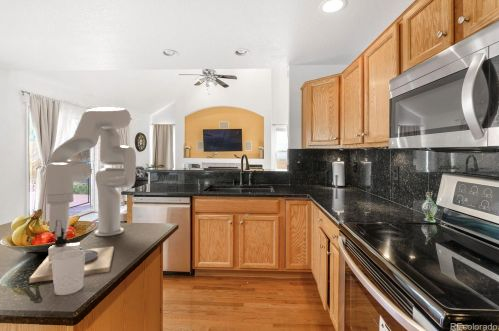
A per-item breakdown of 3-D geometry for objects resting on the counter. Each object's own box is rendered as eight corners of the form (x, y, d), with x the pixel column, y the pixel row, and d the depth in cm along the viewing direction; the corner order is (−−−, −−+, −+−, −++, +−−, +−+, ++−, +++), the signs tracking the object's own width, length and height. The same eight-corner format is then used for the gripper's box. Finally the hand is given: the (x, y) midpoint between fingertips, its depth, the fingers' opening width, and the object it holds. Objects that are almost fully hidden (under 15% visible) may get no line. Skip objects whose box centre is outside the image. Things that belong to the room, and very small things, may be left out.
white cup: (48, 299, 70) (47, 262, 70) (56, 285, 77) (55, 251, 77) (82, 293, 73) (82, 257, 73) (87, 280, 80) (87, 248, 80)
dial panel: (113, 250, 106) (113, 238, 106) (109, 271, 87) (109, 258, 87) (50, 257, 98) (49, 245, 97) (29, 283, 78) (29, 268, 78)
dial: (98, 250, 100) (98, 236, 100) (96, 262, 90) (96, 246, 89) (53, 256, 94) (53, 241, 94) (45, 270, 83) (45, 253, 83)
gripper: (50, 195, 97) (51, 244, 98) (42, 202, 84) (43, 259, 84) (75, 194, 100) (75, 241, 101) (70, 200, 87) (71, 255, 88)
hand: (61, 249), depth 93 cm, fingers closed
